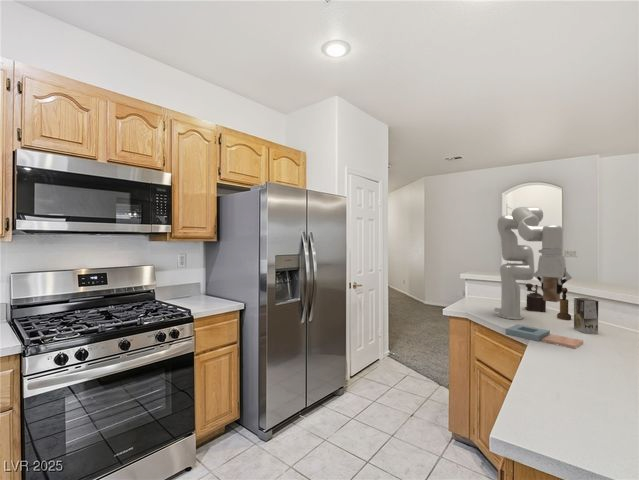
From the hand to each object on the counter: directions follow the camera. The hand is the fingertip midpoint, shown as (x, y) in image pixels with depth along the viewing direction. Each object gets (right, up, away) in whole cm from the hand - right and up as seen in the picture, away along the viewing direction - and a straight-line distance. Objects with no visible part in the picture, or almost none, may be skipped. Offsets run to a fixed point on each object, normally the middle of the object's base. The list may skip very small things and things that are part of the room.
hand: (551, 292), depth 147 cm
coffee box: (+28, -22, +15) cm, 39 cm away
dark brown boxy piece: (+33, -22, +61) cm, 72 cm away
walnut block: (0, -4, 0) cm, 4 cm away
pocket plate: (-6, -22, +8) cm, 24 cm away
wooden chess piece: (+36, -22, +40) cm, 58 cm away
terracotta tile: (+3, -22, -3) cm, 22 cm away
